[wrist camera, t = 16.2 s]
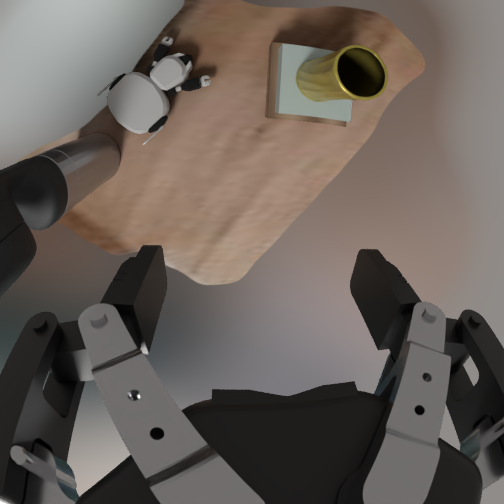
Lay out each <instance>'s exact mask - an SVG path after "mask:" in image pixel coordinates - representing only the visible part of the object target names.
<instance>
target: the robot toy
mask: <svg viewBox="0 0 504 504" xmlns="http://www.w3.org/2000/svg"><path fill="white" fill-rule="evenodd" d="M168 38H169V37H164V39H163V40H162V45H161V44H159V45H158V47H157V49H156V51H155V53H154V62H153V64H152V66H151V65H150V66H149V67H148V69H147V71H146V72H148V73H150V77H148V76H146V75H144V74H142V73H139V72H130V73H128V74H122V75H120V76H119V77H115V78H114V80H113V81H112V82H111V83H110V84H109V85H107V86H106V87H105V88H104V89H103V90H102V91H101V92H99V93H98V95H100V94H101V93H102V92H103V91H104V90H105V89H106V88H107V87H108V86H110V85H111V86H110V88H109V90H110V92H109V94H108V96H107V103H108V107H109V109H110V111H111V113H112V114H113V116H114V117H115V119H116V120H117V122H118V123H120V124H121V125H122V126H124V127H125V128H126V129H128V130H130V131H132V132H134V133H139V134H142V133H146V132H150V133H152V132H155V131H157V130H158V131H157V132H159V131H160V130H162V129H163V128H164V127H163V125H164V124H165V123H166V121H167V119H168V117H167V114H168V112H169V110H170V105H169V100H168V98H167V96H166V94H165V92H164V91H168V94H169V96H172V95H175V94H176V93H177V91H180V90H184V91H192V90H196V89H199V88H201V86H208V85H210V84H211V80H210V81H207V82H205V80H206V79H210V77H209V76H208V75H204V76H202V77H201V78H200V79H199V78H198V77H196V78H193V79H189V80H187V78H188V76H189V73H190V71H191V70H192V68H193V67H192V63H191V61H192V60H193V58H192V56H191V55H189V54H187V55H184V54H181V53H177V54H174V55H172V56H166V55H167V53H168V51H169V49H170V48H169V46H170V45H171V44H172V43H173V39H172V38H170V39H169V41H168V42H167V40H168ZM165 56H166V57H165ZM186 65H187V66H186ZM186 80H187V81H186ZM182 83H183V84H182ZM181 84H182V85H181ZM179 85H181V86H179ZM163 90H164V91H163ZM157 132H155V133H154V134H153V135H152V136H151V137H150V138H149V139H148V140H147V141H145V142H144V144H146V143H147V142H148V141H149V140H150V139H151V138H152V137H153V136H154V135H155V134H156V133H157ZM144 144H143V145H144Z"/></svg>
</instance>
